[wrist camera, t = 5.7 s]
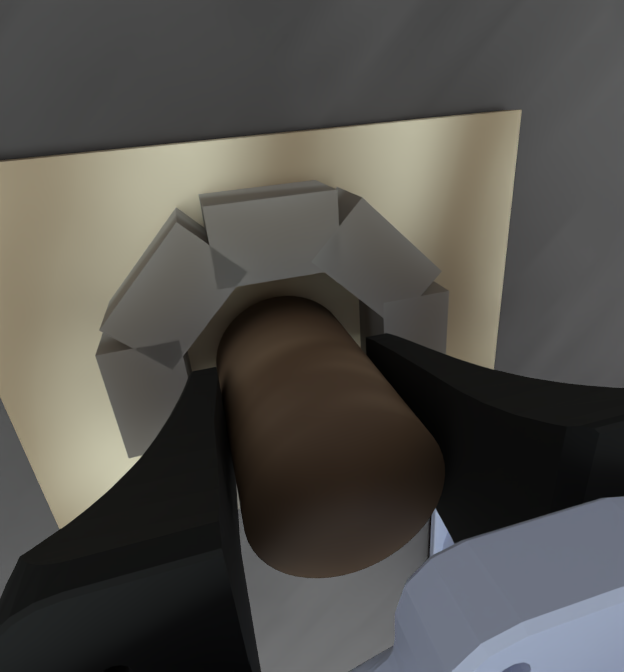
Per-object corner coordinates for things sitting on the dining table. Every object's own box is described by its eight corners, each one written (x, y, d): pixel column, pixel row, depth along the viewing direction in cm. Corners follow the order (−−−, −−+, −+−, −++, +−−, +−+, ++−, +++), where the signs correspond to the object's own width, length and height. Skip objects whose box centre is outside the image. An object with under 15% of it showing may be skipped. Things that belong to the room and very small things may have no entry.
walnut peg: (349, 291, 14) (459, 398, 8) (342, 406, 15) (430, 555, 10) (212, 300, 13) (239, 427, 7) (219, 422, 14) (246, 596, 9)
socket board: (504, 110, 14) (572, 108, 12) (475, 425, 20) (518, 469, 17) (-84, 168, 11) (-157, 183, 9) (71, 526, 16) (53, 597, 14)
